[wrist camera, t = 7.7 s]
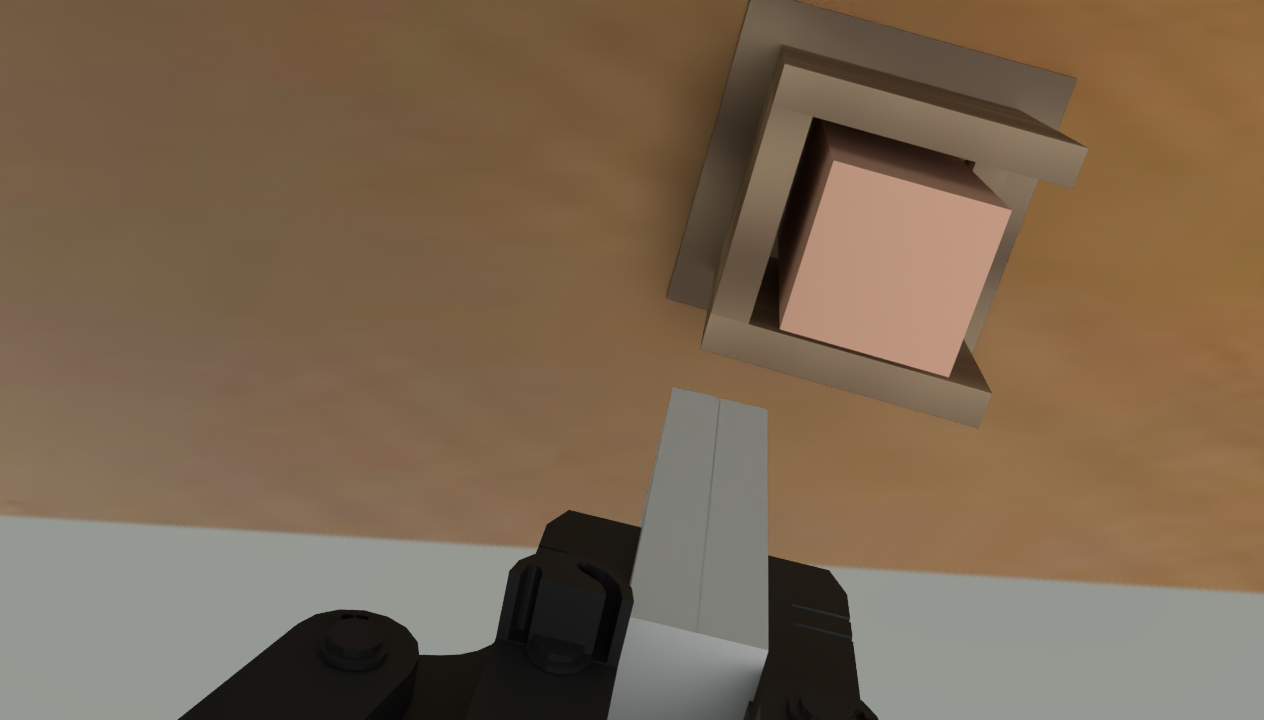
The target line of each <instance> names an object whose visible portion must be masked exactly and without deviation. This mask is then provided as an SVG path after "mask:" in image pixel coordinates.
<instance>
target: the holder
mask: <svg viewBox="0 0 1264 720" xmlns="http://www.w3.org/2000/svg"><path fill="white" fill-rule="evenodd" d="M1076 81H1077V79H1076V78H1072V77H1069V76H1065V75H1061V74H1058V73H1054V72H1051V71H1047V70H1043V69H1040V68H1036V67H1033V66H1029V65H1025V64H1022V63H1018V62H1014V61H1011V60H1007V59H1004V58H1000V57H996V56H993V55H989V54H986V53H982V52H978V51H975V50H971V49H967V48H964V47H960V46H957V45H953V44H949V43H946V42H942V41H939V40H935V39H931V38H928V37H924V36H920V35H917V34H913V33H910V32H906V31H902V30H899V29H895V28H892V27H888V26H884V25H881V24H877V23H873V22H870V21H866V20H863V19H859V18H855V17H852V16H848V15H845V14H841V13H837V12H834V11H830V10H826V9H823V8H819V7H816V6H812V5H808V4H805V3H801V2H798V1H794V0H750V3H749V7H748V10H747V14H746V17H745V21H744V24H743V28H742V31H741V35H740V39H739V42H738V46H737V49H736V53H735V56H734V60H733V63H732V67H731V71H730V74H729V78H728V81H727V85H726V88H725V92H724V95H723V99H722V102H721V106H720V110H719V113H718V117H717V120H716V124H715V127H714V131H713V134H712V138H711V142H710V145H709V149H708V152H707V156H706V159H705V163H704V166H703V170H702V174H701V177H700V181H699V184H698V188H697V191H696V195H695V198H694V202H693V206H692V209H691V213H690V216H689V220H688V223H687V227H686V230H685V234H684V237H683V241H682V245H681V248H680V252H679V255H678V259H677V262H676V266H675V269H674V273H673V277H672V280H671V284H670V287H669V291H668V294H667V299H670V300H674V301H677V302H681V303H684V304H688V305H691V306H695V307H698V308H702V309H705V310H708V311H707V316H706V322H705V327H704V332H703V337H702V342H701V347H700V349H701V350H704V351H708V352H711V353H715V354H719V355H722V356H726V357H729V358H733V359H736V360H740V361H743V362H747V363H750V364H754V365H757V366H761V367H764V368H768V369H771V370H775V371H778V372H782V373H785V374H789V375H792V376H796V377H799V378H803V379H806V380H810V381H813V382H817V383H820V384H824V385H827V386H831V387H834V388H838V389H841V390H845V391H848V392H852V393H855V394H859V395H862V396H866V397H869V398H873V399H876V400H880V401H883V402H887V403H890V404H894V405H897V406H901V407H904V408H908V409H911V410H915V411H918V412H922V413H926V414H929V415H933V416H936V417H940V418H943V419H947V420H950V421H954V422H957V423H961V424H964V425H968V426H971V427H975V428H979V426H980V423H981V421H982V418H983V415H984V413H985V410H986V408H987V405H988V403H989V400H990V398H991V395H992V392H991V390H990V388H989V387H988V385H987V383H986V381H985V379H984V377H983V375H982V373H981V371H980V369H979V367H978V365H977V364H976V362H975V360H974V358H973V356H972V352H973V350H974V347H975V344H976V342H977V339H978V337H979V334H980V331H981V329H982V326H983V324H984V321H985V318H986V316H987V313H988V311H989V308H990V305H991V303H992V300H993V297H994V295H995V292H996V290H997V287H998V284H999V282H1000V279H1001V277H1002V274H1003V271H1004V269H1005V266H1006V263H1007V261H1008V258H1009V256H1010V253H1011V250H1012V248H1013V245H1014V243H1015V240H1016V237H1017V235H1018V232H1019V230H1020V227H1021V224H1022V222H1023V219H1024V216H1025V214H1026V211H1027V209H1028V206H1029V203H1030V201H1031V198H1032V196H1033V193H1034V190H1035V188H1036V185H1037V183H1038V180H1042V181H1045V182H1049V183H1053V184H1056V185H1060V186H1063V187H1067V188H1071V189H1073V187H1074V185H1075V182H1076V179H1077V177H1078V174H1079V172H1080V169H1081V167H1082V164H1083V162H1084V159H1085V157H1086V154H1087V152H1088V149H1089V148H1087V147H1085V146H1083V145H1082V144H1080V143H1078V142H1076V141H1074V140H1073V139H1071V138H1069V137H1067V136H1066V135H1064V134H1062V133H1060V132H1058V131H1057V130H1058V128H1059V125H1060V122H1061V120H1062V117H1063V115H1064V112H1065V109H1066V107H1067V104H1068V102H1069V99H1070V96H1071V94H1072V91H1073V88H1074V86H1075V83H1076ZM816 118H820V119H823V120H827V121H830V122H834V123H838V124H841V125H845V126H848V127H852V128H856V129H859V130H863V131H866V132H870V133H873V134H877V135H881V136H884V137H888V138H891V139H895V140H899V141H902V142H906V143H909V144H913V145H916V146H920V147H924V148H927V149H931V150H934V151H938V152H942V153H945V154H949V155H952V156H956V157H959V158H960V159H961V160H962V161H963V162H964V163H965V164H966V165H967V166H968V167H969V168H970V169H971V170H972V171H973V172H974V173H975V174H976V175H977V176H978V177H979V178H980V179H981V180H982V181H983V182H984V183H985V184H986V185H987V186H988V187H989V188H990V189H991V190H992V191H993V192H994V193H995V194H996V195H997V196H998V197H999V198H1000V199H1001V200H1002V201H1003V202H1004V203H1005V204H1006V205H1007V206H1008V207H1009V208H1010V209H1011V210H1012V212H1011V215H1010V217H1009V220H1008V222H1007V225H1006V228H1005V230H1004V233H1003V236H1002V238H1001V241H1000V244H999V246H998V249H997V252H996V254H995V257H994V259H993V262H992V265H991V267H990V270H989V273H988V275H987V278H986V281H985V283H984V286H983V289H982V291H981V294H980V296H979V299H978V302H977V304H976V307H975V310H974V312H973V315H972V318H971V320H970V323H969V326H968V328H967V331H966V334H965V336H964V339H963V341H962V344H961V347H960V349H959V352H958V355H957V357H956V360H955V363H954V365H953V368H952V371H951V373H950V376H949V377H946V376H942V375H939V374H935V373H932V372H928V371H925V370H921V369H918V368H914V367H911V366H907V365H904V364H900V363H896V362H893V361H889V360H886V359H882V358H879V357H875V356H872V355H868V354H865V353H861V352H858V351H854V350H851V349H847V348H844V347H840V346H837V345H833V344H830V343H826V342H823V341H819V340H816V339H812V338H808V337H805V336H801V335H798V334H794V333H791V332H787V331H784V330H780V320H779V267H778V239H779V236H780V233H781V230H782V227H783V223H784V220H785V217H786V214H787V210H788V207H789V204H790V201H791V198H792V194H793V191H794V188H795V185H796V182H797V178H798V175H799V172H800V169H801V165H802V162H803V159H804V156H805V153H806V149H807V146H808V143H809V140H810V136H811V133H812V130H813V127H814V124H815V120H816Z"/></svg>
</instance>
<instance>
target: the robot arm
mask: <svg viewBox="0 0 1264 720" xmlns="http://www.w3.org/2000/svg"><path fill="white" fill-rule="evenodd" d="M849 620H850V614H849V607H848V599H847V594H846V592H845V591H844V590H843V588H842V587H841V586H840V585H839V583H838V582H837V580H836V579H835V578H834V576H833V575H832V574H831V572H830V571H829V570H826V569H822V568H818V567H813V566H809V565H805V564H801V563H797V562H793V561H789V560H785V559H780V558H776V557H772V556H768V434H767V409H763V408H759V407H755V406H751V405H747V404H743V403H738V402H734V401H730V400H726V399H722V398H717V397H713V396H709V395H705V394H701V393H697V392H692V391H688V390H684V389H680V388H676V387H673V388H672V392H671V397H670V401H669V405H668V409H667V413H666V417H665V421H664V425H663V430H662V434H661V438H660V442H659V446H658V450H657V454H656V458H655V463H654V467H653V471H652V475H651V479H650V483H649V487H648V491H647V496H646V500H645V504H644V508H643V512H642V516H641V520H640V524H639V527H637V526H633V525H629V524H624V523H620V522H616V521H612V520H608V519H604V518H600V517H596V516H592V515H587V514H583V513H579V512H575V511H571V510H568V511H567V512H565V513H564V514H562V515H561V516H559V517H558V518H556V519H554V520H553V521H551V522H550V523H548V524H547V526H546V528H545V531H544V533H543V536H542V539H541V541H540V544H539V548H538V549H537V552H536V554H534V555H531V556H529V557H526V558H524V559H521V560H519V561H518V562H517V563H516V565H515V566H514V567H513V568H512V569H511V570H510V571H509V576H508V581H507V586H506V591H505V596H504V601H503V606H502V611H501V616H500V621H499V626H498V631H497V636H496V639H495V642H494V643H493V644H492V645H490V646H487V647H485V648H483V649H481V650H478V651H474V652H470V653H466V654H461V655H443V656H442V655H440V656H439V655H419V650H418V642H417V641H416V639H415V638H414V637H413V636H412V634H411V633H410V632H409V630H408V629H407V628H406V627H404V626H403V625H401V624H399V623H397V622H396V621H394V620H392V619H391V618H389V617H387V616H383V615H379V614H376V613H372V612H368V611H364V610H335V611H330V612H325V613H320V614H316V615H314V616H312V617H310V618H308V619H306V620H304V621H302V622H301V623H298V624H297V625H296V626H294V627H293V628H292V629H291V630H289V631H288V632H287V633H286V634H284V635H283V636H282V637H281V638H279V639H278V640H277V641H276V642H274V643H273V644H272V645H271V646H269V647H268V648H267V649H266V650H264V651H263V652H262V653H261V654H259V655H258V656H257V657H256V658H255V659H253V660H252V661H251V662H249V663H248V664H247V665H246V666H244V667H243V668H242V669H241V670H239V671H238V672H237V673H235V674H234V675H233V676H232V677H231V678H229V679H228V680H227V681H225V682H224V683H223V684H222V685H220V686H219V687H218V688H217V689H216V690H214V691H213V692H212V693H210V694H209V695H208V696H207V697H205V699H203V700H202V701H200V702H199V703H198V704H197V705H195V706H194V707H193V708H192V709H191V710H189V711H188V712H187V713H185V714H184V715H183V716H182V717H180V718H179V719H178V720H878V718H877V716H876V715H875V714H874V713H873V712H872V711H871V710H870V709H869V708H868V706H867V705H866V704H865V703H864V702H863V701H861V700H860V694H859V687H858V686H859V685H858V677H857V670H856V662H855V654H854V646H853V642H852V630H851V623H850V622H849Z"/></svg>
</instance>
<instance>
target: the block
mask: <svg viewBox="0 0 1264 720" xmlns="http://www.w3.org/2000/svg"><path fill="white" fill-rule="evenodd" d="M1011 212H1012V210H1011V209H1010V208H1009V207H1008V206H1007V205H1006V204H1005V203H1004V202H1003V201H1002V200H1001V199H1000V198H999V197H998V196H997V195H996V194H995V193H994V192H993V191H992V190H991V189H990V188H989V187H988V186H987V185H986V184H985V183H984V182H983V181H982V180H981V179H980V178H979V177H978V176H977V175H976V174H975V173H974V172H973V171H972V170H971V169H970V168H969V167H968V166H967V165H966V164H965V163H964V162H963V161H962V160H961V159H960V158H959V157H956V156H952V155H949V154H945V153H942V152H938V151H934V150H931V149H927V148H924V147H920V146H916V145H913V144H909V143H906V142H902V141H899V140H895V139H891V138H888V137H884V136H881V135H877V134H873V133H870V132H866V131H863V130H859V129H856V128H852V127H848V126H845V125H841V124H838V123H834V122H830V121H827V120H823V119H820V118H816V120H815V124H814V127H813V130H812V133H811V136H810V140H809V143H808V146H807V149H806V153H805V156H804V159H803V162H802V165H801V169H800V172H799V175H798V178H797V182H796V185H795V188H794V191H793V194H792V198H791V201H790V204H789V207H788V210H787V214H786V217H785V220H784V223H783V227H782V230H781V233H780V236H779V239H778V267H779V320H780V330H784V331H787V332H791V333H794V334H798V335H801V336H805V337H808V338H812V339H816V340H819V341H823V342H826V343H830V344H833V345H837V346H840V347H844V348H847V349H851V350H854V351H858V352H861V353H865V354H868V355H872V356H875V357H879V358H882V359H886V360H889V361H893V362H896V363H900V364H904V365H907V366H911V367H914V368H918V369H921V370H925V371H928V372H932V373H935V374H939V375H942V376H946V377H949V376H950V373H951V371H952V368H953V365H954V363H955V360H956V357H957V355H958V352H959V349H960V347H961V344H962V341H963V339H964V336H965V334H966V331H967V328H968V326H969V323H970V320H971V318H972V315H973V312H974V310H975V307H976V304H977V302H978V299H979V296H980V294H981V291H982V289H983V286H984V283H985V281H986V278H987V275H988V273H989V270H990V267H991V265H992V262H993V259H994V257H995V254H996V252H997V249H998V246H999V244H1000V241H1001V238H1002V236H1003V233H1004V230H1005V228H1006V225H1007V222H1008V220H1009V217H1010V215H1011Z"/></svg>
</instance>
